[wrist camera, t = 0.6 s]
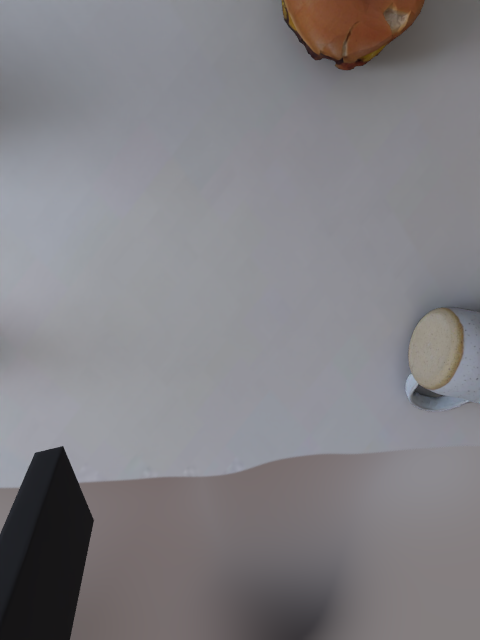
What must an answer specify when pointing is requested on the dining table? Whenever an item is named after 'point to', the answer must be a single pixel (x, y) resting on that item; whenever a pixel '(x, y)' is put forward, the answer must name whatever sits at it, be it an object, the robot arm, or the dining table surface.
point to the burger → (349, 27)
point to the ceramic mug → (445, 359)
